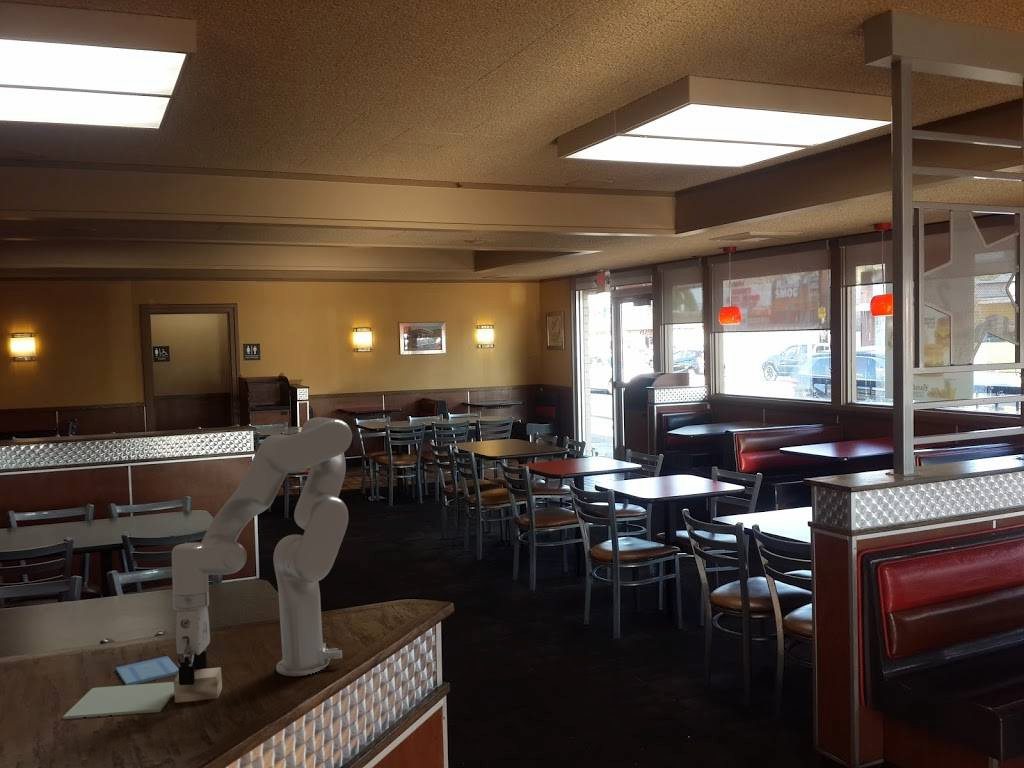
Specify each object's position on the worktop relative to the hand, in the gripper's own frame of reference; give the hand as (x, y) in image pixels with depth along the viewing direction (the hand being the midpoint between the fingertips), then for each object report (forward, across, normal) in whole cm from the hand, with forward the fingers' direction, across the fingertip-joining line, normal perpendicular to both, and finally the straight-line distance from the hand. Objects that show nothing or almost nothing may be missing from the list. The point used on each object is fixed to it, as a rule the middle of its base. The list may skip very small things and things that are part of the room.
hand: (193, 676), depth 200 cm
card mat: (+5, +1, +15) cm, 16 cm away
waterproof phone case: (+5, +19, +16) cm, 25 cm away
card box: (+5, +1, -1) cm, 5 cm away
